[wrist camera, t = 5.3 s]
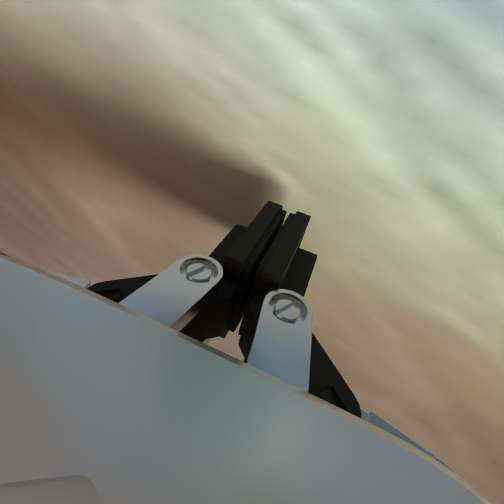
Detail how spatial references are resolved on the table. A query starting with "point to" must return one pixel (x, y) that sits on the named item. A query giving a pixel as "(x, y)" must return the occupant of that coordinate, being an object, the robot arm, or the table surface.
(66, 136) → the table surface
